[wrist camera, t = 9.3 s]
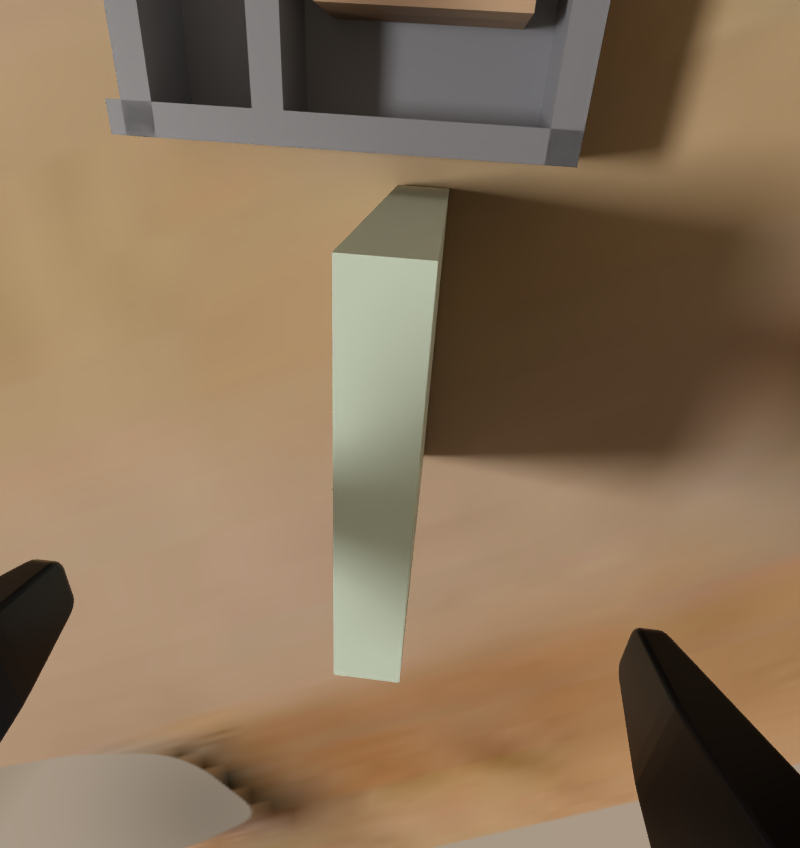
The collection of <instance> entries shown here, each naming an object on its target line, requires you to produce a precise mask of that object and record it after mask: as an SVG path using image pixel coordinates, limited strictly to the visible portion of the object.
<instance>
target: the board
mask: <svg viewBox="0 0 800 848" xmlns="http://www.w3.org/2000/svg"><path fill="white" fill-rule="evenodd" d="M448 197H449V189H447V188H433V187H420V186H407V185H398V186H397V187H396V188H395V189H394V190H393V191H392V192H391V193H390V194H389V195H388V196H387V197H386V198H385V199H384V200H383V201H382V202H381V203H380V204H379V205H378V206H377V207H376V208H375V209H374V210H373V211H372V212H371V213H370V214H369V215H368V216H367V217H366V218H365V219H364V220H363V221H362V222H361V223H360V224H359V225H358V226H357V228H356V229H355V230H354V231H353V232H352V233H351V234H350V235H349V236H348V237H347V238H346V239H345V240H344V241H343V242H342V243H341V244H340V245H339V246H338V247H337V248H336V249H335V250H334V251H333V252H332V342H333V611H334V674H335V675H343V676H350V677H358V678H366V679H374V680H382V681H390V682H398V683H399V679H400V670H401V661H402V652H403V642H404V633H405V624H406V614H407V605H408V596H409V587H410V577H411V568H412V559H413V550H414V540H415V531H416V522H417V512H418V503H419V494H420V485H421V475H422V466H423V457H424V446H425V436H426V425H427V415H428V405H429V394H430V384H431V374H432V363H433V353H434V342H435V332H436V322H437V311H438V301H439V291H440V280H441V270H442V259H443V249H444V239H445V228H446V218H447V208H448Z"/></svg>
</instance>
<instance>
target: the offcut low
mask: <svg viewBox="0 0 800 848" xmlns="http://www.w3.org/2000/svg"><path fill="white" fill-rule="evenodd" d="M326 12H327V13H328V14H329V15H330V16H332V17H333V18H334V19H348V20H365V21H383V22H400V23H417V24H435V25H452V26H469V27H487V28H504V29H521V30H523V29H524V28H525V26H526V25H527V23H528V22H517V21H499V20H481V19H464V18H446V17H429V16H411V15H393V14H376V13H358V12H341V11H326Z"/></svg>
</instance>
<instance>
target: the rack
mask: <svg viewBox="0 0 800 848" xmlns="http://www.w3.org/2000/svg"><path fill="white" fill-rule="evenodd" d="M610 1H611V0H536V4H535V11H534V14H533V16H532V17H531V19H530V20H529V22H528V23H527V25H526V26H525V28H524V29H523V30H521V29H504V28H487V27H469V26H452V25H435V24H417V23H400V22H383V21H365V20H348V19H334V18H333V17H332V16H330V15H329V14H328V13H327V12H326V11H324V10H323V9H322V8H321V7H320V6H318V5H317V4H316V3H315V2H313V0H104V6H105V12H106V18H107V24H108V30H109V35H110V41H111V47H112V53H113V59H114V65H115V70H116V76H117V82H118V88H119V94H120V99H106V98H105V100H106V105H107V111H108V116H109V122H110V127H111V133H112V134H116V135H130V136H144V137H158V138H172V139H186V140H200V141H214V142H228V143H242V144H256V145H270V146H284V147H298V148H312V149H326V150H340V151H354V152H368V153H382V154H396V155H410V156H424V157H438V158H452V159H466V160H480V161H494V162H508V163H522V164H536V165H550V166H564V167H577V165H578V160H579V155H580V150H581V145H582V140H583V135H584V130H585V125H586V120H587V115H588V110H589V105H590V100H591V95H592V90H593V85H594V80H595V75H596V70H597V65H598V60H599V55H600V50H601V45H602V41H603V36H604V31H605V26H606V21H607V16H608V11H609V6H610Z"/></svg>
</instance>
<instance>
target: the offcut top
mask: <svg viewBox="0 0 800 848" xmlns="http://www.w3.org/2000/svg"><path fill="white" fill-rule="evenodd" d="M313 2H315V3H316V4H317V5H318V6H320V7H321V8H322V9H323V10H324V11H341V12H358V13H376V14H393V15H411V16H429V17H446V18H464V19H481V20H499V21H517V22H529V20H530V19H531V17H532V16H533V14H534V11H535V4H536V0H313Z"/></svg>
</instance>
